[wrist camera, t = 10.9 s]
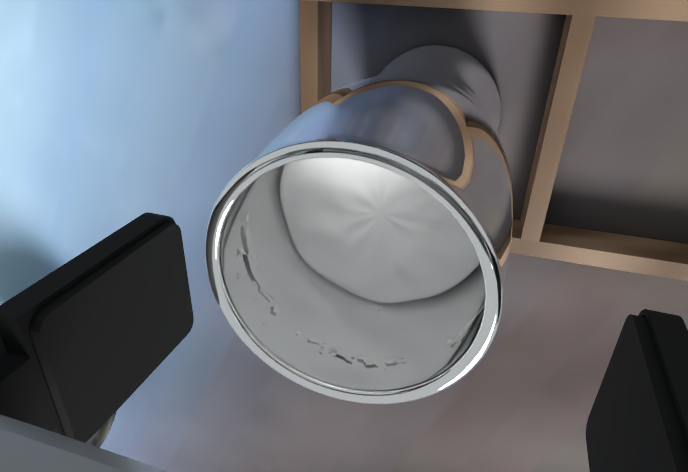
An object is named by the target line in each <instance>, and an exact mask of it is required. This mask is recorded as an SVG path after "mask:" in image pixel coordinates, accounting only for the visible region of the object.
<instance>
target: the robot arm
mask: <svg viewBox="0 0 688 472" xmlns="http://www.w3.org/2000/svg"><path fill="white" fill-rule="evenodd" d="M192 325H193V311H192V304H191V297H190V290H189V284H188V277H187V270H186V263H185V256H184V249H183V242H182V235H181V230H180V227H179V226H178V225H176V224H175V221H174V220H173V218H171V217H169V216H164V215H159V214H153V213H144V214H142V215H141V216H139V217H138V218H136V219H134V220H133V221H131V222H130V223H128V224H127V225H125V226H123V227H122V228H120V229H119V230H117V231H116V232H114V233H113V234H111V235H109V236H108V237H106V238H105V239H103V240H102V241H100V242H99V243H97V244H95V245H94V246H92V247H91V248H89V249H88V250H86V251H85V252H83V253H81V254H80V255H78V256H77V257H75V258H74V259H72V260H70V261H69V262H67V263H66V264H64V265H63V266H61V267H60V268H58V269H56V270H55V271H53V272H52V273H50V274H49V275H47V276H46V277H44V278H42V279H41V280H39V281H38V282H36V283H35V284H33V285H31V286H30V287H28V288H27V289H25V290H24V291H22V292H21V293H19V294H17V295H16V296H14V297H13V298H11V299H10V300H8V301H7V302H5V303H3V304H2V305H0V472H168V471H165V470H162V469H159V468H156V467H153V466H150V465H148V464H145V463H142V462H139V461H136V460H133V459H130V458H127V457H124V456H121V455H118V454H116V453H113V452H110V451H107V450H104V449H101V448H98V447H95V446H92V445H89V444H86V443H85V442H87V441H88V440H89V439H90V438H92V436H93V435H94V434H95V433H96V432H97V431H98V430H99V429H100V428H101V427H102V426H103V425H104V424H105V422H106V421H107V420H108V419H109V418H110V417H111V416H112V415H113V414H114V413H115V412H116V411H117V410H118V409H119V407H120V406H121V405H122V404H123V403H124V402H125V401H126V400H127V399H128V398H129V397H130V396H131V395H132V393H133V392H134V391H135V390H136V389H137V388H138V387H139V386H140V385H141V384H142V383H143V382H144V381H145V380H146V378H147V377H148V376H149V375H150V374H151V373H152V372H153V371H154V370H155V369H156V368H157V367H158V366H159V365H160V363H161V362H162V361H163V360H164V359H165V358H166V357H167V356H168V355H169V354H170V353H171V352H172V351H173V349H174V348H175V347H176V346H177V345H178V344H179V343H180V342H181V341H182V340H183V339H184V338H185V337H186V336H187V334H188V333H189V332H190V330H191V328H192ZM586 442H587V451H588V460H589V468H590V472H688V330H687V328H686V325H685V323H684V321H683V319H682V318H681V317H680V316H678V315H672V314H667V313H662V312H657V311H652V310H647V309H644V310H642V311H641V312H640V314H639V316H636V315H631V314H630V315H629V316H628V317H627V318H626V321H625V323H624V326H623V328H622V331H621V333H620V336H619V339H618V341H617V344H616V347H615V349H614V352H613V354H612V357H611V360H610V362H609V365H608V368H607V370H606V373H605V375H604V378H603V381H602V383H601V386H600V389H599V391H598V394H597V396H596V399H595V402H594V404H593V407H592V409H591V412H590V415H589V418H588V421H587V427H586Z"/></svg>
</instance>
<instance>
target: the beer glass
mask: <svg viewBox="0 0 688 472" xmlns="http://www.w3.org/2000/svg"><path fill="white" fill-rule="evenodd" d="M500 118H501V102H500V96H499V92H498V89H497V86H496V84H495V82H494V80H493V78H492V76H491V75H490V73H489V72H488V71H487V69H486V68H485V67H484V66H483V65H482V64H481V63H480V62H479V61H478V60H477V59H475V58H474V57H473V56H471V55H469V54H468V53H466V52H464V51H462V50H459V49H456V48H453V47H449V46H443V45H428V46H422V47H418V48H414V49H412V50H409V51H407V52H405V53H403V54H401V55H400V56H398V57H397V58H395V59H394V60H393V61H391V62H390V63H389V64H388V65H387V66H386V67H385V68H384V69H383V71H382V72H381V73H380V74H379V75H378V76H374V77H370V78H366V79H363V80H359V81H356V82H353V83H351V84H348V85H346V86H343V87H341V88H340V89H338V90H336V91H334V92H332V93H331V94H329V95H327V96H326V97H324V98H322V99H321V100H319V101H317V102H316V103H314V104H313V105H312V106H310V107H309V108H307V109H306V110H305V111H304V112H303V113H301V114H300V115H299V116H298V117H297V118H296V119H294V120H293V121H292V122H291V123H289V124H288V125H287V126H286V127H285V128H284V129H283V130H282V131H281V132H280V133H279V134H278V135H277V136H276V137H275V138H274V139H273V140H272V141H271V142H270V143H269V144H268V145H267V146H266V147H265V148H264V149H263V150H262V151H261V152H260V153H259V154H258V156H257V157H256V158H255V159H254V160H253V161H252V162H251V163H249V164H248V165H247V166H245V167H244V168H243V169H242V170H240V171H239V172H238V173H237V174H236V175H235V176H234V177H233V178H232V179H231V181H230V182H229V183H228V184H227V186H226V187H225V188H224V190H223V191H222V193H221V194H220V196H219V198H218V200H217V201H216V203H215V206H214V208H213V210H212V213H211V216H210V219H209V223H208V227H207V233H206V241H205V257H206V266H207V272H208V277H209V281H210V284H211V288H212V290H213V293H214V296H215V298H216V301H217V303H218V305H219V307H220V309H221V311H222V313H223V315H224V316H225V318H226V320H227V321H228V323H229V324H230V326H231V327H232V329H233V330H234V331H235V333H236V334H237V335H238V336H239V338H240V339H241V340H242V341H243V342H244V343H245V344H246V345H247V347H248V348H249V349H250V350H251V351H252V352H253V353H255V354H256V355H257V356H258V357H259V358H260V359H261V360H262V361H264V362H265V363H266V364H267V365H269V366H270V367H271V368H273V369H274V370H276V371H277V372H278V373H280V374H281V375H283V376H285V377H286V378H288V379H290V380H292V381H293V382H295V383H297V384H299V385H301V386H303V387H305V388H308V389H310V390H312V391H315V392H317V393H320V394H323V395H326V396H329V397H333V398H336V399H340V400H345V401H350V402H357V403H366V404H394V403H402V402H408V401H413V400H417V399H421V398H424V397H427V396H430V395H433V394H435V393H437V392H440V391H442V390H444V389H446V388H448V387H449V386H451V385H453V384H454V383H456V382H457V381H459V380H460V379H462V378H463V377H464V376H465V375H467V374H468V373H469V372H470V371H471V370H472V369H473V368H474V367H475V366H476V365H477V364H478V363H479V361H480V360H481V359H482V358H483V356H484V355H485V353H486V352H487V350H488V349H489V347H490V345H491V343H492V341H493V339H494V337H495V335H496V332H497V329H498V326H499V323H500V319H501V314H502V307H503V287H504V282H505V277H506V272H507V266H508V260H509V254H510V247H511V240H512V224H513V195H512V185H511V176H510V169H509V165H508V161H507V158H506V155H505V152H504V149H503V147H502V144H501V142H500V139H499V137H498V135H497V131H498V128H499V124H500Z"/></svg>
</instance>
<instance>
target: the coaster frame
mask: <svg viewBox="0 0 688 472" xmlns="http://www.w3.org/2000/svg"><path fill="white" fill-rule="evenodd" d="M332 2H345V3H364V4H382V5H400V6H418V7H436V8H454V9H472V10H491V11H509V12H527V13H545V14H563V15H566V18H565V23H564V27H563V31H562V36H561V40H560V45H559V49H558V54H557V58H556V63H555V67H554V71H553V76H552V80H551V85H550V89H549V94H548V98H547V102H546V107H545V111H544V116H543V120H542V125H541V129H540V133H539V138H538V142H537V147H536V151H535V156H534V160H533V164H532V169H531V173H530V178H529V182H528V187H527V191H526V195H525V200H524V204H523V209H522V213H521V218H520V220H519V219H513V224H512V240H511V247H510V253H516V254H522V255H528V256H535V257H541V258H547V259H553V260H560V261H566V262H572V263H578V264H584V265H591V266H597V267H603V268H609V269H616V270H622V271H628V272H634V273H640V274H647V275H653V276H659V277H665V278H672V279H678V280H684V281H688V244H684V243H677V242H670V241H664V240H657V239H650V238H643V237H636V236H629V235H622V234H615V233H609V232H602V231H595V230H588V229H581V228H574V227H567V226H561V225H554V224H547V223H544V221H545V217H546V213H547V209H548V205H549V201H550V197H551V193H552V189H553V185H554V181H555V177H556V173H557V169H558V166H559V162H560V158H561V154H562V150H563V146H564V142H565V138H566V134H567V130H568V126H569V122H570V118H571V114H572V110H573V106H574V102H575V98H576V94H577V90H578V87H579V83H580V79H581V75H582V71H583V67H584V63H585V59H586V55H587V51H588V47H589V43H590V39H591V35H592V31H593V27H594V23H595V19H596V16H599V17H618V18H636V19H654V20H672V21H688V0H299V15H300V84H301V113H303V112H304V111H305V110H306V109H307V108H309V107H310V106H312V105H313V104H314V103H316V102H317V101H319V100H321V99H322V98H324V97H326V96H327V95H329V94H331V42H332Z"/></svg>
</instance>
